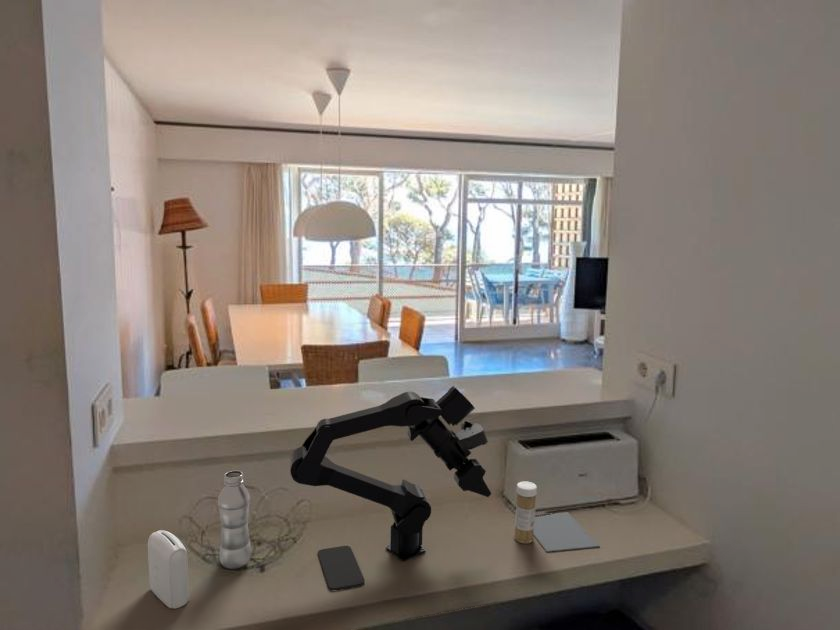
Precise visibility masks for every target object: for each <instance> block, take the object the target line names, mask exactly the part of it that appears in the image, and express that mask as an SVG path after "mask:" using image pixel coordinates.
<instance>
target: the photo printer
mask: <svg viewBox="0 0 840 630" xmlns="http://www.w3.org/2000/svg"><path fill="white" fill-rule="evenodd" d="M147 559H148V563H147V564H148V578H149V587H150V590H151V592H152V593H153V594H154V595H155V596H156V597H157V598H158V599H159V600H160V601H161V602H162V603H163V604H164V605H165V606H166V607H168V608H169V609H174V610H175V609H179V608H181V607H183V606H185V605H186V604H187V603H188V601H189V600H190V587H189V586H190V585H189V584H190V583H189V564H188V563H189V561H188V560H189V559H188V551H187V549H186V547H185V546H184V544H183V542H182V541H181V540H180V539H179V538H178V537H177V536H176V535H174V534H173V533H171V532H169V531H167V530H164V529H163V530H162V529H160V530H157V531H154V532H153V533H150V536H149V537H148V540H147Z"/></svg>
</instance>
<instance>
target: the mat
mask: <svg viewBox="0 0 840 630" xmlns="http://www.w3.org/2000/svg"><path fill="white" fill-rule="evenodd" d="M554 513H555V514H552V513H550V514H551V515H546V516H541V517H540V516H539V517H535V523H534V534H533V537H534V539H536V541H537V542H538V543H539V544H540V546H542V548H543V549H544V551H545V552H546V553H553V552H552V551H554V552H562V551H563V550H564V551H570V550H571V551H572V550H573V549H574V550H582V549H591V548H592V549H593V548H600V545H599V543H598V542H597V541H596V540H595V539H594V538H593V537H592V536H591V535H590V534H589V532H587V531H586V530H585V529H584V528H583V526H581V525H580V523H579V521H577V520H576V519H575V518H574V517H573V516H572V515H571V513H569V512H567V511H564V512H554Z"/></svg>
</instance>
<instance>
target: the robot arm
mask: <svg viewBox="0 0 840 630" xmlns="http://www.w3.org/2000/svg"><path fill="white" fill-rule="evenodd" d="M475 409H476V407H475V406H474V405H473V403H471V402H470V400H469V399H468V398H467V397H466V396H465V395H464V394H463V393H462V392H460V391H459V389H458V388H457V387H456V386H455V385H453V386H451V387H450V388H449V389H448V391H447V392H446V393H445V394H444V395H442V397H440V398H439V399H438V400H437V401H436V400H435V399H434V398H429V397H424V396H423V397H422V396H420V395H419V394H418V393H416V392H414V391H410V390H409V391H405V392H403V393H399V394H398V395H395V396H394V397H392V398H389V400H387V401H386V402H384V403H382V404H380V405H377V406H373V407H369V408H366V409H365V408H364V409H361V410H357V411H355V412H349V413H346V414H342V415H338V416H334V417H331V418H322V419H320V420H319V421H318V422H317V424H316V426H315V428H314V429H313V430H312V432H311V433H310V434H309V435H308V436H307V437H306V438H305V440H304V441H303V443H302V445H301V446H299V447H298V448H297V447H296V448H295V449H294V450H293V452H292V453H291V455H290V463H289V464H290V465H289V468H290V476H291V478H292V480H293V481H294V482H296V483H297V484H300V485H305V486H309V487H310V486H311V487H324V486H328V487H332V488H335V489H338V490H340V491H343V492H347V493H348V494H352V495H354V496H357V497H360V498H363V499H364V500H368V501H370V502H373V503H376V504H379V505H382V506H384V507H387V508H389V509H390V512H391V514H392V518H393V521H394V522H393V524H391V525H390V542H389V543H390V544H388V545H385V549H386V550H388V551H389V552H390V553H392V555H394V556H395V557H396V558H398V559H399V560H400V561H403V562H405V561H407V560H410V559H411V558H412V559H413V558H414V557H416V556H419V555H422V554H423V553H425V552H426V548H424V547H423V546H422V545H423V532H424V531H423V527H424V525H425V522H426V521H428V519H429V518H430V517H431V514H432V506H431V504H430V502H429V499H428V498H427V496H426V494H425V491H424V490H423V489H422V488H421V487H420V485H419V484H418V483H412V482H410V481H408V480H407V479H402V480H401V484H397V485H396V484H395V485H394V484H390V483H387V482H384V481H383V480H382V481H381V480H379V479H377V478H375V477H371V476H368V475H366V474H363V473H360V472H358V471H354V470H352V469H349V468H347V467H344V466H341V465H338V464H336V463H335V462H333V461H332V460H331V459H329V458H328V457H327V456H326V455H327V452H328V450H329V448H330V446H331V444H332V443H333V441H335V440H338V439H342V438H346V437H350V436H354V435H357V434H361V433H366V432H368V431H372V430H376V429H380V428H383V427H401V428H402V427H407V429H408V430H407V436H408V439H410V441H411V442H413V441H414V440H415V439H417V438H418V437H419V438H420V439H421V440H422V441H423V442H424V443H425V444H426V445H427V446H428V447H429V448H430V449H431V451H432V452H433V453H434V455H435V456H436V457H437V458H438V459H440V460H441V461H442V462H443V464H444V465H445V466H446V468H447V469H448V470H449V471H452V470H453V469H454V470H456V471H454V474H453V478H454V481H455V482H456V484H457V486H458V487H459V488H460V489H461V490H462V491H463V492H467V491H468V492H471V493H475V494H477V495H481V496H483V497H486V498H489V497H490V496H491V495H492V492H491V490H490V489H489V487H488V485H487V483H486V482H485V480H484V476H485V475H486V471H487V470H486V469H485V468H484V467H483V465H482V464H481V463H480V462H479V460H477V458H470V459H469V458H468V457H469V456H470V455H471V454H472V451H471V450H474V449H475V448H478V447H481V446H484V445H487V444H488V442H489V441H488V439H487V435H486V433H485V430H484V428H483V427H482V426H481V424H480V423H476V422H474V423H473V422H471V421H470V420H468V419H465V418H466V417H467V416H468V415H470V413H472V412H473V411H474V410H475ZM440 417H441V418H442V419H443V420H444V421H445V422H446V423H447V425H448V426H451V425H452V426H453V427H455V426H458V425H459V423H461V424H460V425H461V426H460V429H459V431H458V432H456V433H455V431H453V430H451V429H449V428H448V427H447V425H445V423H444V422H443V421H442V420H441V419H440ZM464 419H465V420H464ZM463 420H464V421H463Z"/></svg>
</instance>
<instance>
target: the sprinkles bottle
mask: <svg viewBox="0 0 840 630" xmlns="http://www.w3.org/2000/svg"><path fill="white" fill-rule="evenodd" d="M537 491H538V486H537V485H536V484H535V483H534V482H531V481H527V480H525V481H519V482H518V483H517V484H516V505H515V506H516V507H515V508H516V509H515V517H514V518H515V521H514V525H515V528H514V535H513V538H514V540H515V541H516V542H518V543H520V544H523V545H524V544H525V545H526V544H528V545H529V544H532V543H533V542H534V539H535V537H534V535H533V534H534V523H535V515H536V497H537V493H538V492H537Z"/></svg>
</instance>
